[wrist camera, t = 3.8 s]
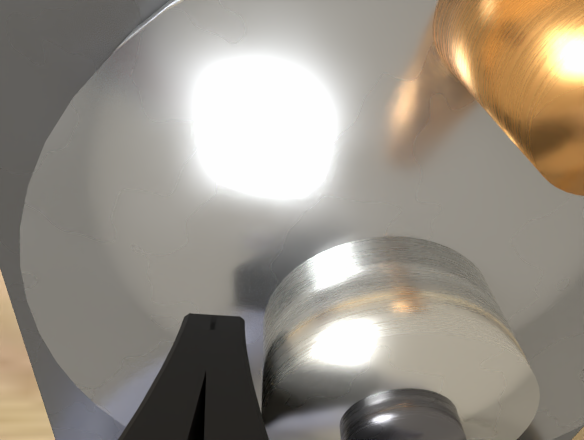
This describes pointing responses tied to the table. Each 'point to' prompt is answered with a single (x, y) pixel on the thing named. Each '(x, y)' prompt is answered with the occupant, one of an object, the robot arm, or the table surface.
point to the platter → (311, 175)
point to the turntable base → (27, 148)
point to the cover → (392, 349)
